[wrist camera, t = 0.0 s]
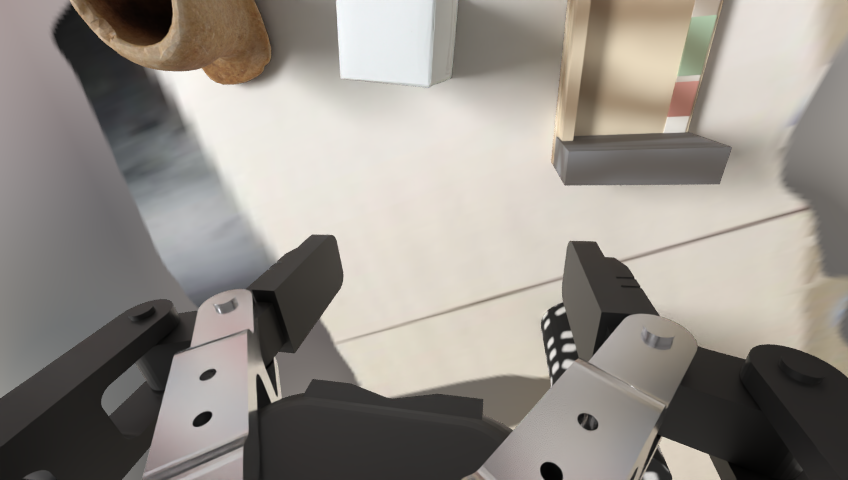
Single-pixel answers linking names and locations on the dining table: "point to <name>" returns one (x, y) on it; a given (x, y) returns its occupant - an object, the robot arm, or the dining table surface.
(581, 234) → the dining table surface
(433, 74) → the supplement box
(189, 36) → the tan piece
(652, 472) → the white-spotted black cylinder
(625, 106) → the beige long open tray
